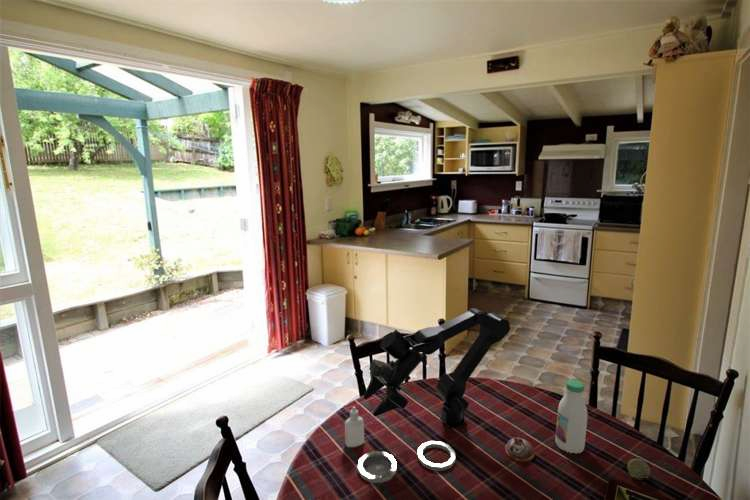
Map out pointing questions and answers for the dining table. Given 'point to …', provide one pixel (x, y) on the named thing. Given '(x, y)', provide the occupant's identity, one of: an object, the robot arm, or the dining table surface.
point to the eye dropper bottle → (354, 429)
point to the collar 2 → (433, 465)
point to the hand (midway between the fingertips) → (369, 406)
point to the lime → (638, 468)
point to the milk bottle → (572, 419)
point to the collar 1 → (377, 467)
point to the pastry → (519, 449)
